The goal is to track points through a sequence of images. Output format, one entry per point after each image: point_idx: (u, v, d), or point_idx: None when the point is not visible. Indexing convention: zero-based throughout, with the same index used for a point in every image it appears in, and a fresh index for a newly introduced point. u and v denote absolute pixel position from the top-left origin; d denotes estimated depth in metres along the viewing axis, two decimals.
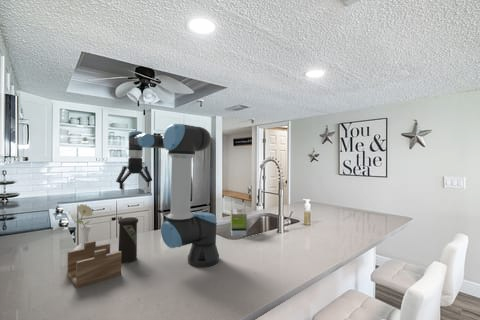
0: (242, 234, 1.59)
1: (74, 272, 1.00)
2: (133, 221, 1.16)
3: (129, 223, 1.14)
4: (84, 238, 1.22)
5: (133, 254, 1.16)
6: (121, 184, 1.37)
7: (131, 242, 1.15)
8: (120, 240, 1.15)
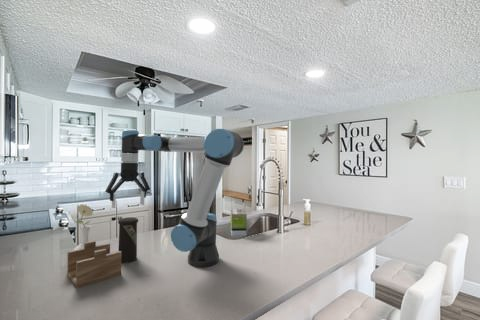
0: (242, 234, 1.59)
1: (74, 272, 1.00)
2: (133, 221, 1.16)
3: (129, 223, 1.14)
4: (84, 238, 1.22)
5: (133, 254, 1.16)
6: (112, 195, 1.12)
7: (131, 242, 1.15)
8: (120, 240, 1.15)
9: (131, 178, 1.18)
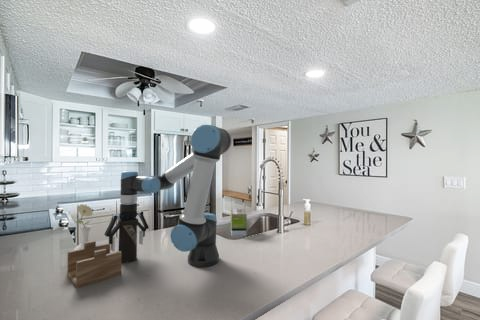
0: (242, 234, 1.59)
1: (74, 272, 1.00)
2: (133, 221, 1.16)
3: (129, 223, 1.14)
4: (84, 238, 1.22)
5: (133, 254, 1.16)
6: (111, 238, 1.12)
7: (131, 242, 1.15)
8: (120, 240, 1.15)
9: None
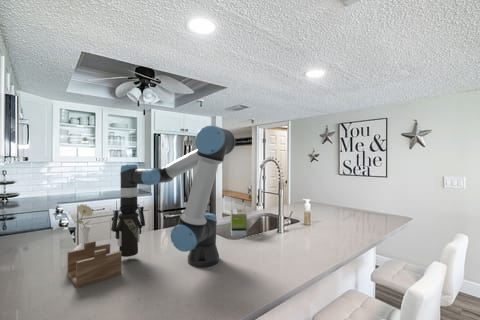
0: (242, 234, 1.59)
1: (74, 272, 1.00)
2: (133, 215, 1.16)
3: (129, 217, 1.14)
4: (84, 238, 1.22)
5: (134, 248, 1.16)
6: (117, 233, 1.14)
7: (132, 236, 1.15)
8: (121, 234, 1.15)
9: (131, 212, 1.18)
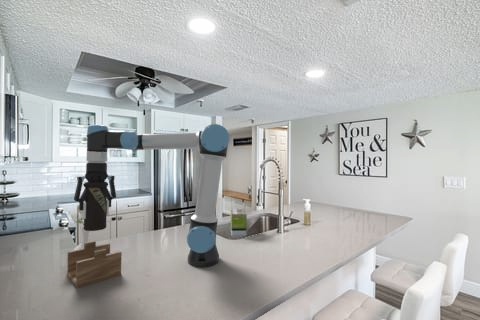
0: (242, 234, 1.59)
1: (74, 272, 1.00)
2: (100, 183, 1.00)
3: (96, 185, 0.99)
4: (84, 238, 1.22)
5: (101, 222, 1.00)
6: (81, 203, 0.98)
7: (99, 208, 1.00)
8: (86, 205, 0.99)
9: (98, 180, 1.02)
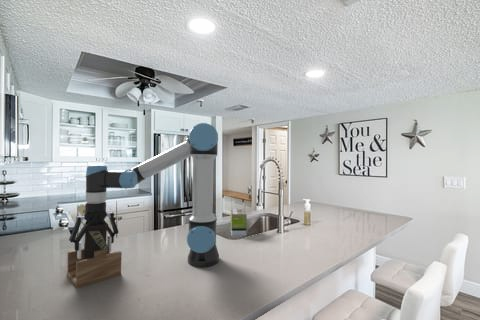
0: (242, 234, 1.59)
1: (74, 272, 1.00)
2: (101, 226, 1.01)
3: (96, 228, 0.99)
4: (84, 238, 1.22)
5: None
6: (77, 244, 0.97)
7: None
8: (85, 248, 0.99)
9: (98, 220, 1.02)
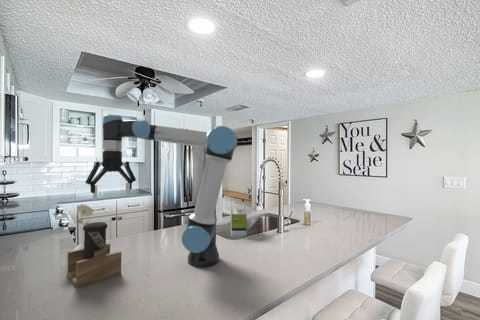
0: (242, 234, 1.59)
1: (74, 272, 1.00)
2: (100, 226, 1.00)
3: (95, 229, 0.99)
4: None
5: None
6: (93, 186, 1.01)
7: None
8: (85, 249, 0.99)
9: (114, 168, 1.07)
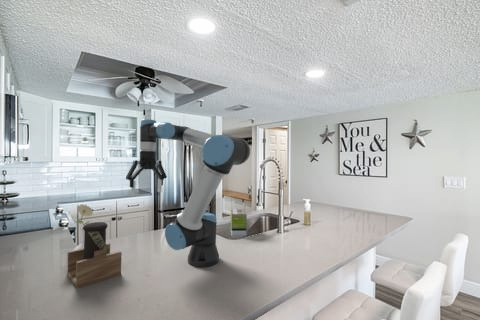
0: (242, 234, 1.59)
1: (74, 272, 1.00)
2: (100, 226, 1.00)
3: (95, 229, 0.99)
4: None
5: None
6: (132, 182, 1.16)
7: None
8: (85, 249, 0.99)
9: (149, 166, 1.22)
